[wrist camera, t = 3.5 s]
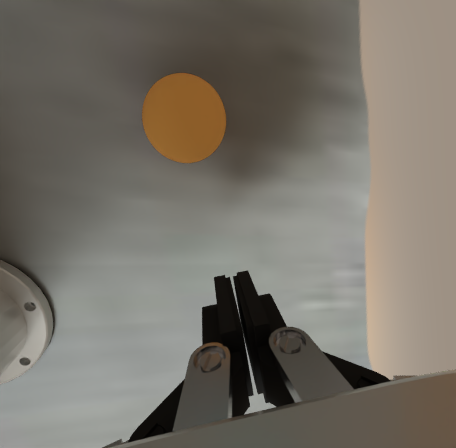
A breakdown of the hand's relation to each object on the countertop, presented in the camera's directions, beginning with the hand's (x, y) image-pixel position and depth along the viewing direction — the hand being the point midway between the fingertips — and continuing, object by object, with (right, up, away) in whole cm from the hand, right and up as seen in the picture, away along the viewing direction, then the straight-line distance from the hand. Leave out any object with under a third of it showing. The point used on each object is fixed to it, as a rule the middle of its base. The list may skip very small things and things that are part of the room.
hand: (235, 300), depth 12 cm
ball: (-3, +11, +5) cm, 12 cm away
